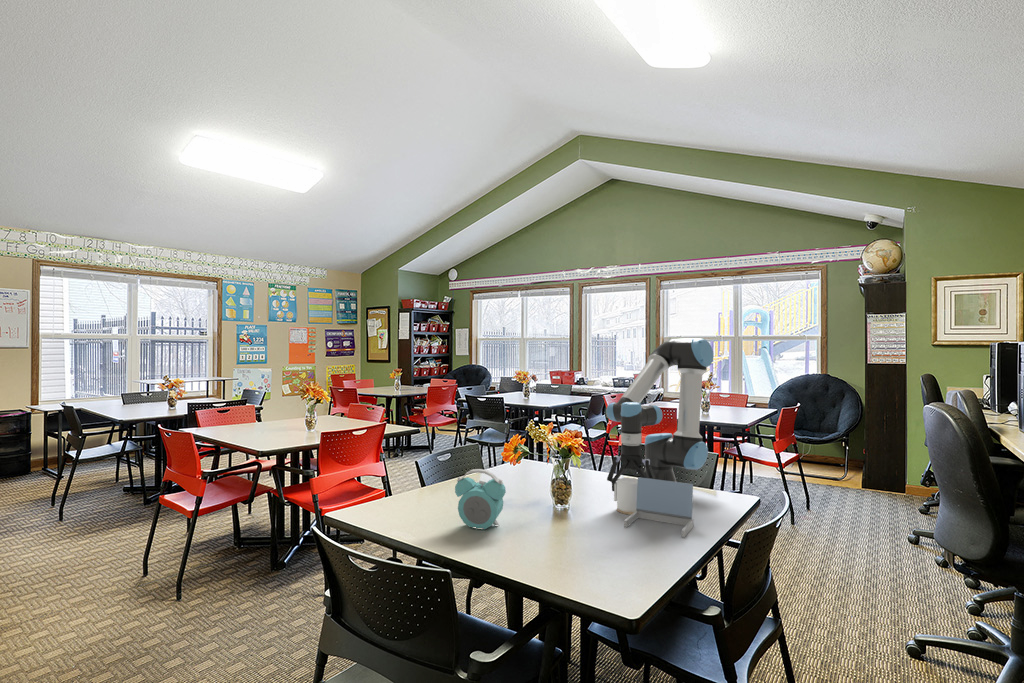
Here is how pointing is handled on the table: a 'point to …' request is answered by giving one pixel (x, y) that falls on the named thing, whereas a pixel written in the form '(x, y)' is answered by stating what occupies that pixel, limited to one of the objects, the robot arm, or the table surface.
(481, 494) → the alarm clock
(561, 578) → the table surface
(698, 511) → the table surface
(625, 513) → the coaster
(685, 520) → the bracket
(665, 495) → the cover
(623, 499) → the mug
